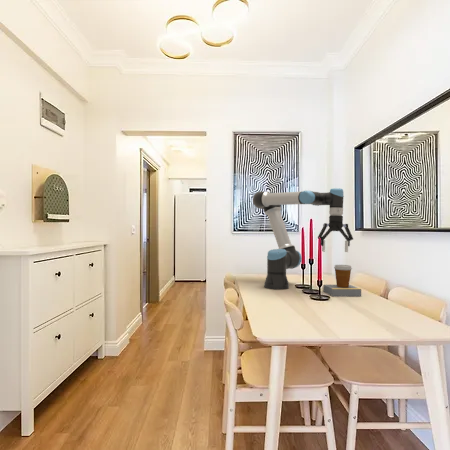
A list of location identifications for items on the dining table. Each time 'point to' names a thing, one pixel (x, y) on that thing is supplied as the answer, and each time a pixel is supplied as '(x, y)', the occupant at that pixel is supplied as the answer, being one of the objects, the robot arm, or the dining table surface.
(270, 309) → the dining table surface
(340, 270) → the disposable coffee cup
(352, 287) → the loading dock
